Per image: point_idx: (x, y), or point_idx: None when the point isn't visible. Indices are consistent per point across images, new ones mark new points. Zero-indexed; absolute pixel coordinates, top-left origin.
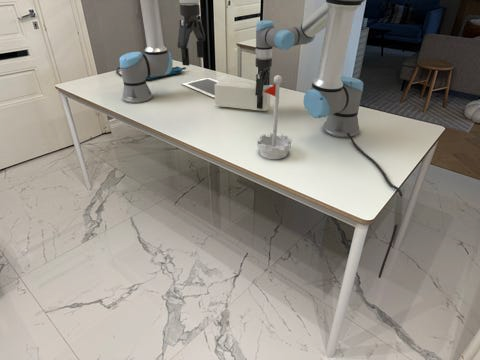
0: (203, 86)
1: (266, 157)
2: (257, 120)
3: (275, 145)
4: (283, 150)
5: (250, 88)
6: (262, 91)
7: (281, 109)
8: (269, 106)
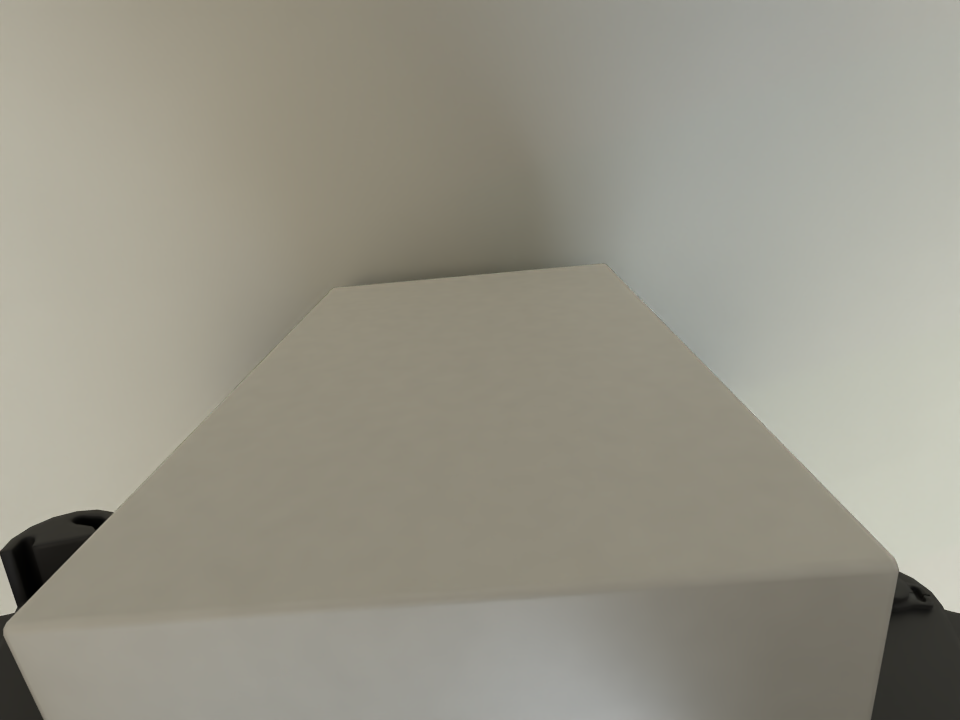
0: None
1: None
2: (920, 310)
3: None
4: None
5: None
6: (888, 698)
7: (231, 36)
8: (361, 286)
